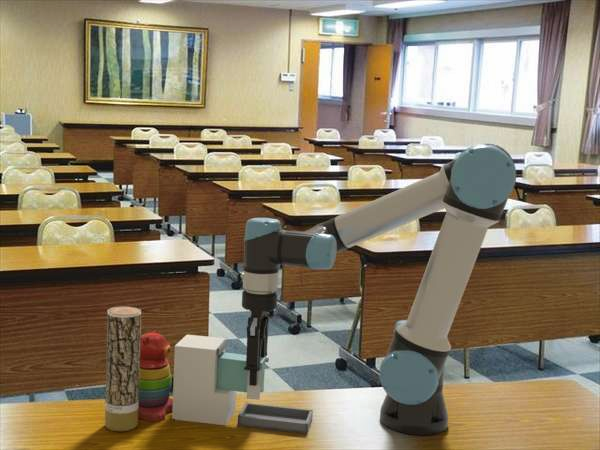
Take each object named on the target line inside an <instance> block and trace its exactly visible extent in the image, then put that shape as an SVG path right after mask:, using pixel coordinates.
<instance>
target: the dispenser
mask: <svg viewBox="0 0 600 450" xmlns="http://www.w3.org/2000/svg"><path fill="white" fill-rule="evenodd" d="M227 347H228V339H227V338H224V337H218V336H208V335H207V336H205V335H197V334H186V335H185V336H183V338H182V339H180V340H179V341H178V342H177V343H176V344H175V345H174V360H173V361H174V363H173V381H172V384H173V387H172V399H173V410H172V411H171V412H172V414H171V415H172V416H171V418H172V419H171V420H173V419H175V421H183V422H184V421H185V422H192V423H199V424H200V423H201V424H207V425H209V424H210V425H220V426H227V425H228V423H229V422H230V419H231V418H232V417H233V415H234V413H235V412H236V405H237V391H231V390H223V389H216V383H217V360H218V356H220V354H221V353H222V352H226V348H227Z"/></svg>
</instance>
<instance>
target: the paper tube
mask: <svg viewBox="0 0 600 450" xmlns="http://www.w3.org/2000/svg"><path fill="white" fill-rule="evenodd" d="M106 316H107V317H106V319H107V320H106V358H105V359H106V360H105V394H104V395H105V396H104V397H105V398H104V399H105V401H104V402H105V403H104V404H105V406H104V425H105V427H106V429H107V430H109V431H112V432H117V431H118V432H129V431H132V430H134V429H135V428H136V427H137V426H138V425H139V423H138V422H139V418H138V406H139V372H140V338H141V336H142V333H141V332H142V310H141V309H140V308H137V307H132V306H114V307H111V308H108V309H107V315H106Z"/></svg>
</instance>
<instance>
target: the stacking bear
mask: <svg viewBox="0 0 600 450" xmlns="http://www.w3.org/2000/svg"><path fill="white" fill-rule="evenodd" d="M170 352H171V345H170V343H169V341H167V339H166V338H165V337H164V335H162V334H161V333H158V330H156V329H155V330H152V331H151V332H146V333H144V334H141V338H140V372H139V406H138V419H141V420H144V419H145V421H149V422H161V421H163V420H164V419H166V414H168V413H170V412H172V410H173V397H172V398H171V397H170V394H171V390H172V384H173V380H172V379H173V377H172V373H171V367H170V364H169V360H168V358H166V357H168V355H169V354H170Z"/></svg>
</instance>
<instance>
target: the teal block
mask: <svg viewBox="0 0 600 450" xmlns="http://www.w3.org/2000/svg"><path fill="white" fill-rule="evenodd" d="M246 355H247V354H239V353H234V352H232V353H231V352H226V351H225V352H222V353H221V354H220V356H218V360H217V383H216V389H223V390H231V391H236V392H240V393H246V394H247V379H248V370H244V367H246ZM266 358H267V357H266V356H265V357H261V359H260V370H261V379H260V394H261V393H262V392H261V391H262V389H263V383H264V384H265V374H264V371H265V370H266V362H265V359H266Z"/></svg>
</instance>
